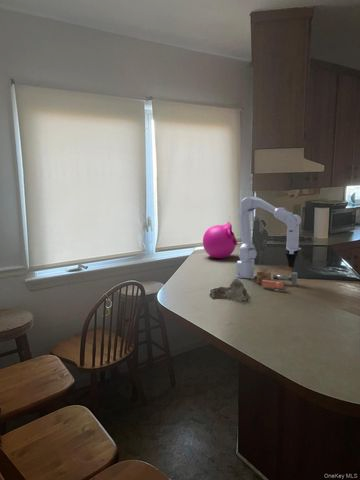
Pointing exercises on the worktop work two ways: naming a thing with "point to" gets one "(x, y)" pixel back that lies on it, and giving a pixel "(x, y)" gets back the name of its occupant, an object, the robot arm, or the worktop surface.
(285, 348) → the worktop surface
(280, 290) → the lever base
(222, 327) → the worktop surface
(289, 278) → the bolt
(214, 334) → the worktop surface
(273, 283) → the latch lever
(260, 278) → the eye block
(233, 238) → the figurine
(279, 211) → the robot arm
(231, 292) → the rock
